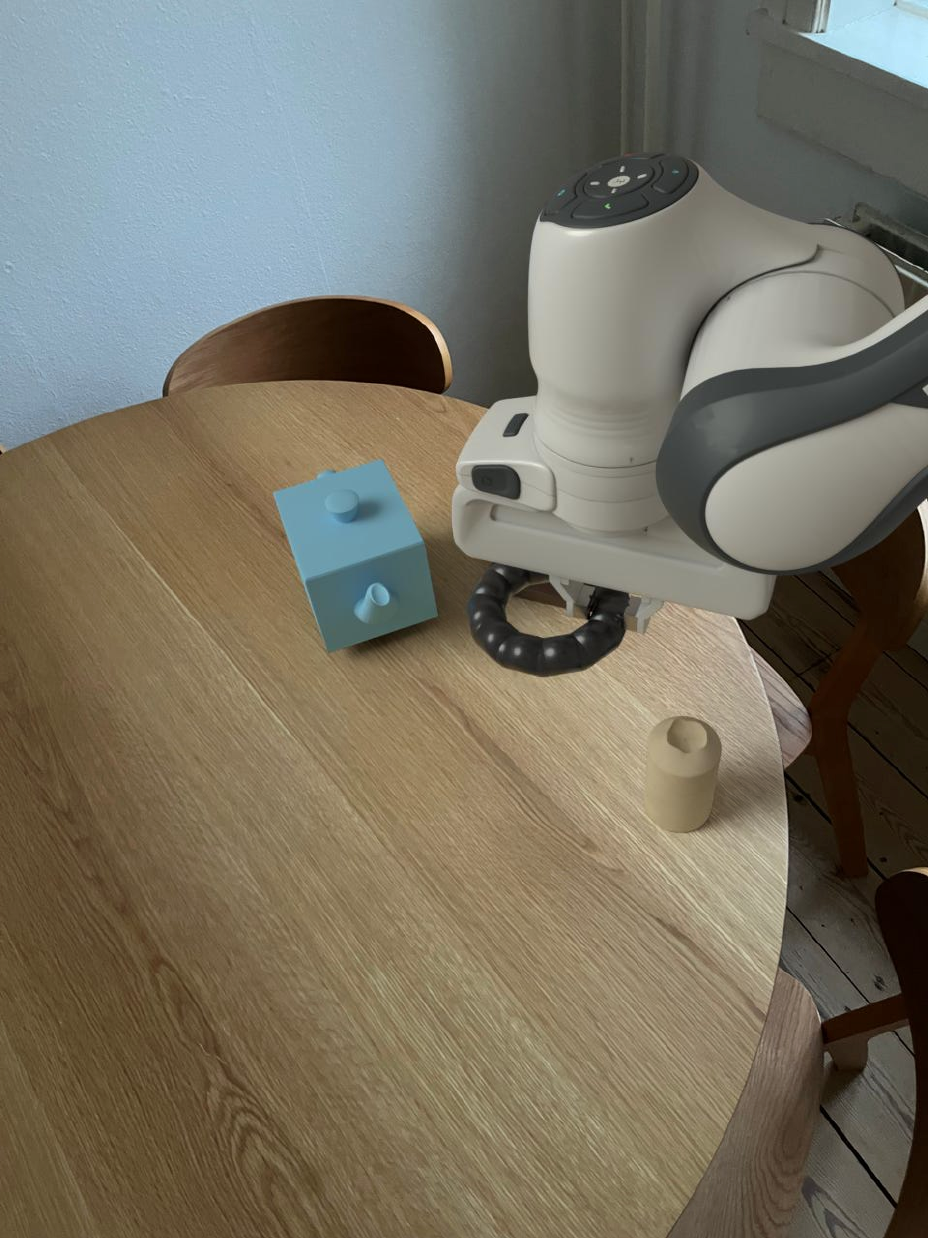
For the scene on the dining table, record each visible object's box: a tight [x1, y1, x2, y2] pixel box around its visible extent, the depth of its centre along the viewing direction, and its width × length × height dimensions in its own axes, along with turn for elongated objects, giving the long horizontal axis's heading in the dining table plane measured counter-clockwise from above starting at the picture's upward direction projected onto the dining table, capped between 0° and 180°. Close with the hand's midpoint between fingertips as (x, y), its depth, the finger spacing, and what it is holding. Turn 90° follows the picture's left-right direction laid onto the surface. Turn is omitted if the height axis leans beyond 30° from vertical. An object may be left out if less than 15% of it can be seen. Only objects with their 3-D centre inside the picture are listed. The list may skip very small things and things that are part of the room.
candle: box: [643, 715, 723, 834], centre depth 76 cm, size 6×6×10 cm
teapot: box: [272, 458, 439, 654], centre depth 92 cm, size 22×11×14 cm, turn 20°
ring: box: [466, 563, 631, 678], centre depth 67 cm, size 11×11×3 cm
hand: (608, 618), depth 65 cm, fingers closed on ring, 2 cm apart
